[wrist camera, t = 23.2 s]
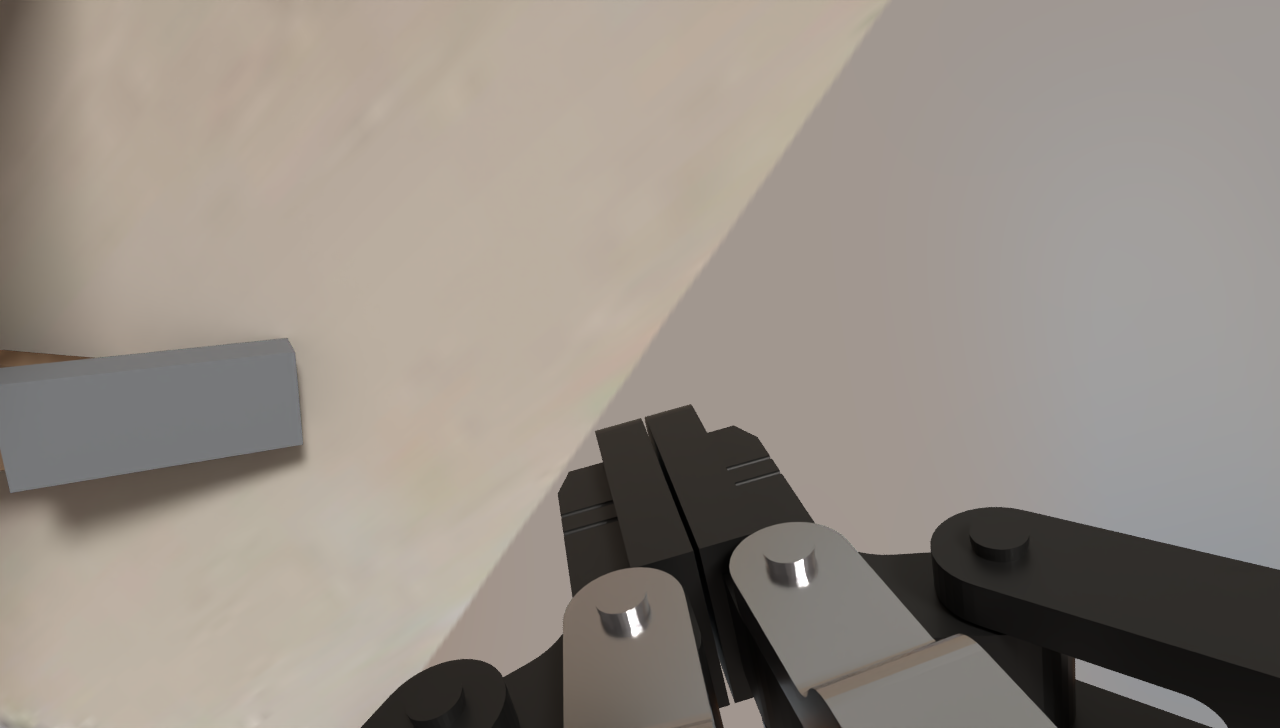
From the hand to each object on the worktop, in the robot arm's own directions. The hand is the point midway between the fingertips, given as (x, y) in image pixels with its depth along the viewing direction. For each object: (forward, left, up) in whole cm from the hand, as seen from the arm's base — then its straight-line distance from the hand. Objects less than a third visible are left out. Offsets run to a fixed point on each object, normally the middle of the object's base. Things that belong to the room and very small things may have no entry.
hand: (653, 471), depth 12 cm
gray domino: (-9, -14, -30) cm, 34 cm away
